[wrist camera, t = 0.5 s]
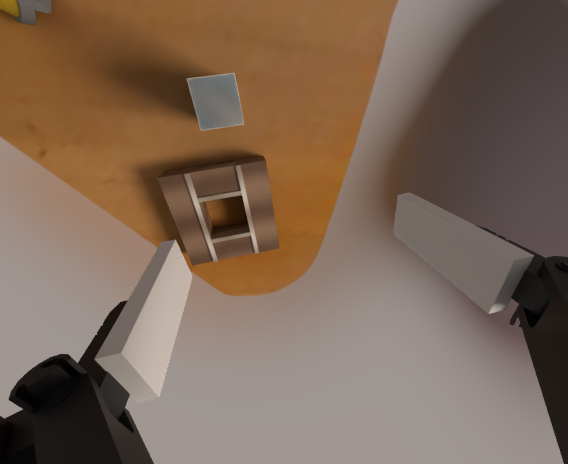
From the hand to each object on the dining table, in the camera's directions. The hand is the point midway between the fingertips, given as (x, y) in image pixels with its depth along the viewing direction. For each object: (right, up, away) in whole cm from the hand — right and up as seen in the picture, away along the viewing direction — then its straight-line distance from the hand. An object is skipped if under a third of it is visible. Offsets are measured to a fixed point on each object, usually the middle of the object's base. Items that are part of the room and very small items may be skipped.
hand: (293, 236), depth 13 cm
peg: (-8, +17, +16) cm, 24 cm away
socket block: (-10, +4, +22) cm, 25 cm away
